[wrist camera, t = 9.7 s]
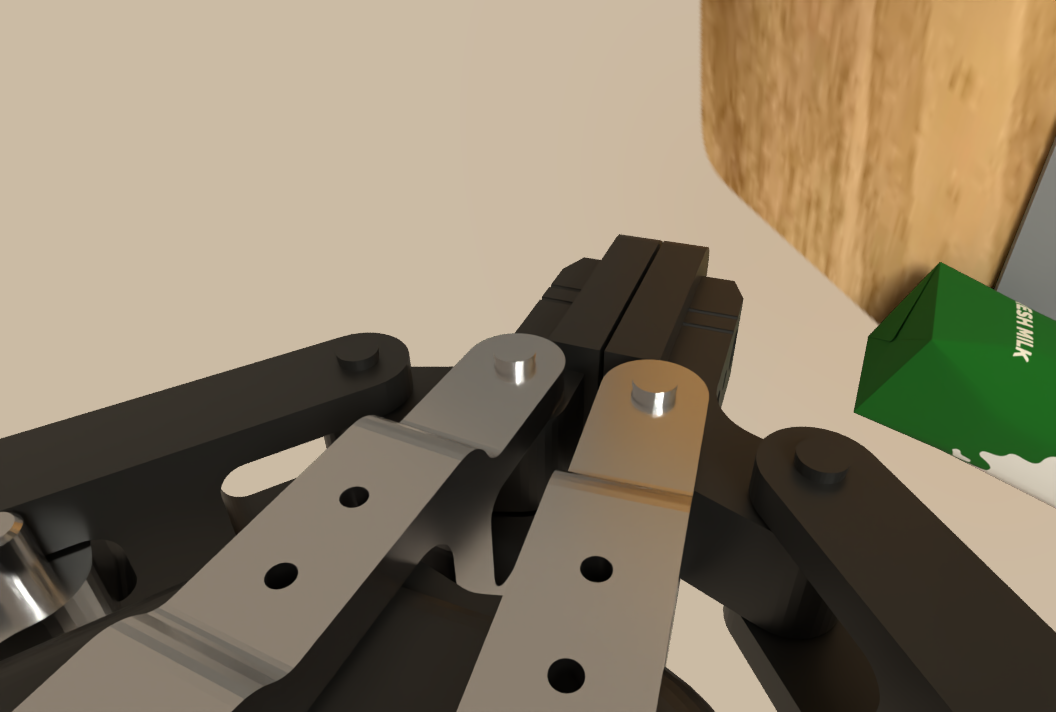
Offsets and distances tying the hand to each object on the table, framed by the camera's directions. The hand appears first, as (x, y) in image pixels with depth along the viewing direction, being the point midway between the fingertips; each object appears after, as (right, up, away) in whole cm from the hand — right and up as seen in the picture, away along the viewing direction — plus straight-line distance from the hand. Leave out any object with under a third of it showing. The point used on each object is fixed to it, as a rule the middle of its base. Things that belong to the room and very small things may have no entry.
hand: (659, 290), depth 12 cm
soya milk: (+19, 0, +30) cm, 35 cm away
